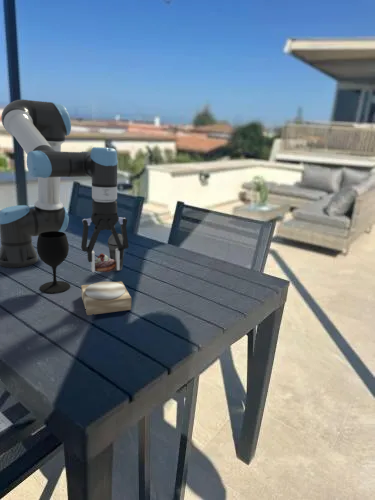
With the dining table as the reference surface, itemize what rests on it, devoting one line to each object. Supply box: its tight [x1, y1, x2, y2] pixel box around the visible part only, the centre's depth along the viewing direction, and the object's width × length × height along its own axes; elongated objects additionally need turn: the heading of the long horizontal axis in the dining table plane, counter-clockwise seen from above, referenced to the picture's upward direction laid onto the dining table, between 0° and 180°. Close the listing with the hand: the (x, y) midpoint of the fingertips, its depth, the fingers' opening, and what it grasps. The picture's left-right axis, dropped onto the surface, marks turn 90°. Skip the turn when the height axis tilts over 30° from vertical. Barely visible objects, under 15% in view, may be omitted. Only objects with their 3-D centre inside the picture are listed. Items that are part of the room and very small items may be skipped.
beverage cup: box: [107, 225, 125, 272], centre depth 145 cm, size 7×7×20 cm
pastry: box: [95, 252, 116, 273], centre depth 115 cm, size 8×8×5 cm
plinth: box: [80, 281, 132, 316], centre depth 117 cm, size 14×14×5 cm
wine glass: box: [36, 231, 71, 294], centre depth 124 cm, size 10×10×20 cm
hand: (105, 269), depth 114 cm, fingers closed on pastry, 7 cm apart
